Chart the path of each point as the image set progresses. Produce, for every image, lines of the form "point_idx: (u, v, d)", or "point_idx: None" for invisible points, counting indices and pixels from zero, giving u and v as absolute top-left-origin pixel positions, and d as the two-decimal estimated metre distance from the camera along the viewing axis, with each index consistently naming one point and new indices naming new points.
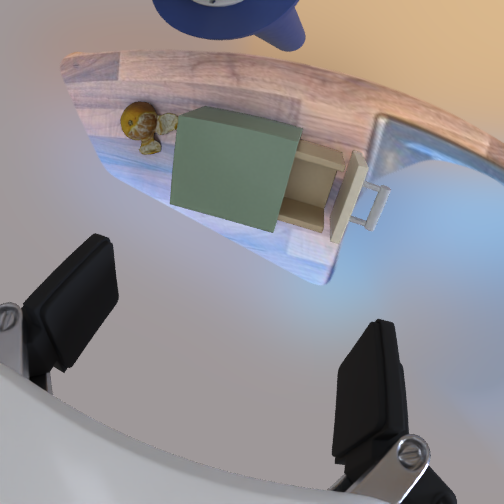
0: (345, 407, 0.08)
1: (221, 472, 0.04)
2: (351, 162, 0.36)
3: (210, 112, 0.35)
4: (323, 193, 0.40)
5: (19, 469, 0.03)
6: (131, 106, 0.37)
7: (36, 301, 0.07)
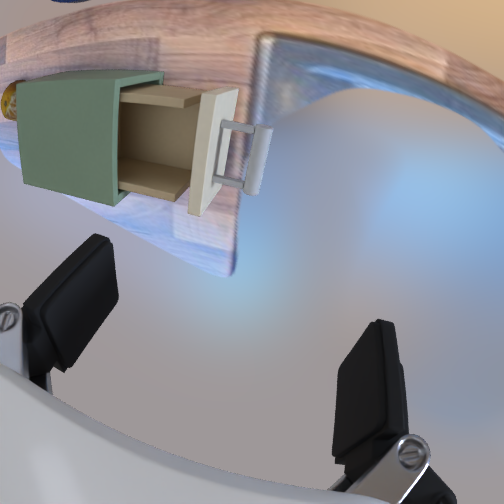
0: (345, 407, 0.08)
1: (221, 472, 0.04)
2: None
3: (59, 74, 0.23)
4: (192, 150, 0.28)
5: (19, 469, 0.03)
6: (8, 86, 0.25)
7: (36, 301, 0.07)
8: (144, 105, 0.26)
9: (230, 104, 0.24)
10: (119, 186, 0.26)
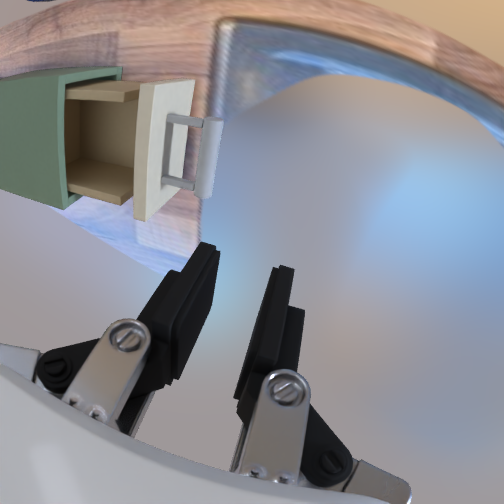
0: (247, 350, 0.10)
1: (221, 473, 0.04)
2: None
3: (22, 74, 0.20)
4: None
5: (19, 469, 0.03)
6: None
7: (167, 316, 0.07)
8: (100, 102, 0.23)
9: (182, 96, 0.21)
10: (69, 188, 0.22)
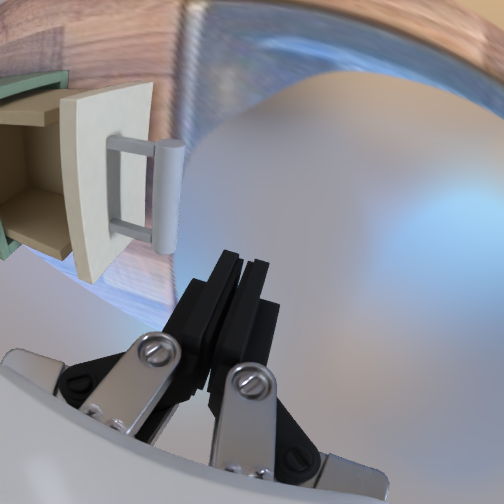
0: None
1: (221, 472, 0.04)
2: None
3: None
4: None
5: (19, 469, 0.03)
6: None
7: (197, 328, 0.07)
8: None
9: (131, 108, 0.14)
10: (8, 234, 0.16)
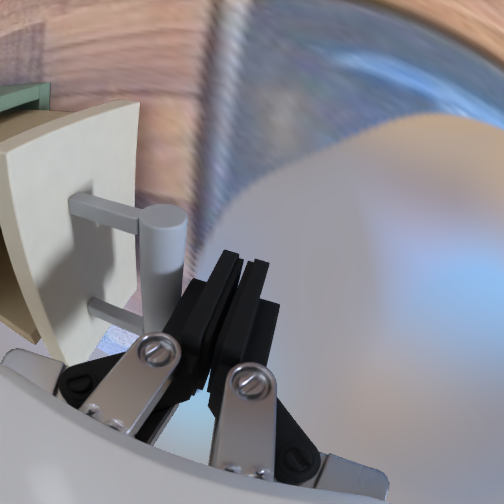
0: None
1: (221, 472, 0.04)
2: None
3: None
4: None
5: (19, 469, 0.03)
6: None
7: (197, 328, 0.07)
8: None
9: (106, 146, 0.10)
10: None
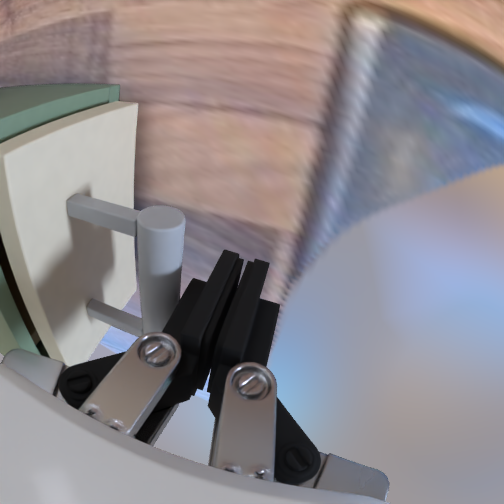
0: None
1: (221, 472, 0.04)
2: None
3: None
4: None
5: (19, 469, 0.03)
6: None
7: (197, 328, 0.07)
8: None
9: (104, 148, 0.10)
10: None
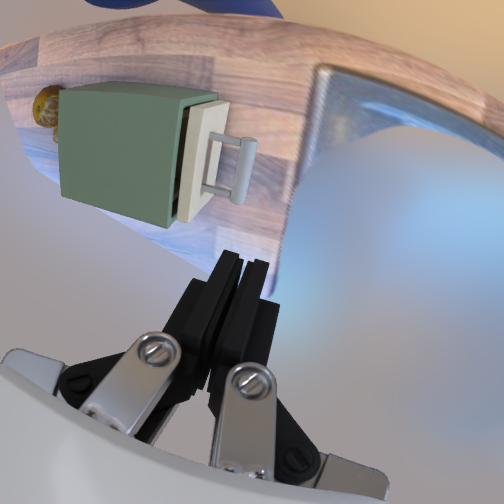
0: None
1: (222, 472, 0.04)
2: None
3: (104, 84, 0.25)
4: None
5: (19, 469, 0.03)
6: (41, 91, 0.28)
7: (197, 328, 0.07)
8: None
9: (220, 117, 0.26)
10: None
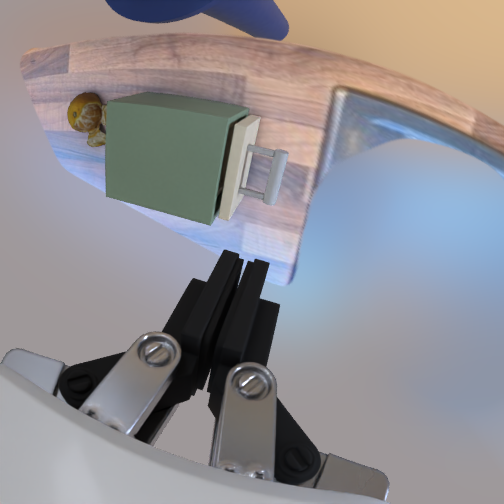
0: None
1: (221, 473, 0.04)
2: None
3: (146, 96, 0.30)
4: None
5: (19, 469, 0.03)
6: (76, 97, 0.33)
7: (197, 328, 0.07)
8: None
9: (254, 131, 0.31)
10: None
